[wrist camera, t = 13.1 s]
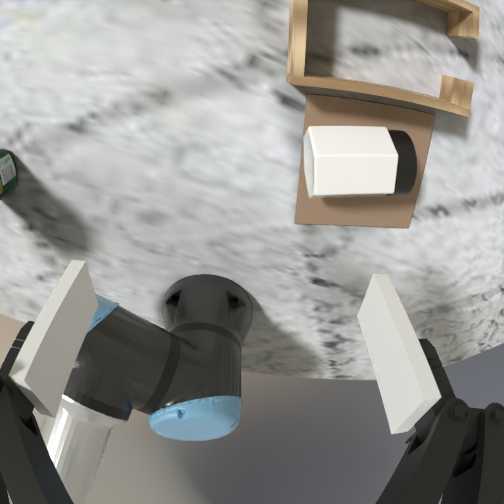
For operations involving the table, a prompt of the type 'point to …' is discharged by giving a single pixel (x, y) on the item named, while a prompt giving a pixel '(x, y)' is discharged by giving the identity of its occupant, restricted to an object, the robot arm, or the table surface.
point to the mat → (366, 207)
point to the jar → (358, 161)
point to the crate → (451, 95)
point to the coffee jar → (7, 173)
